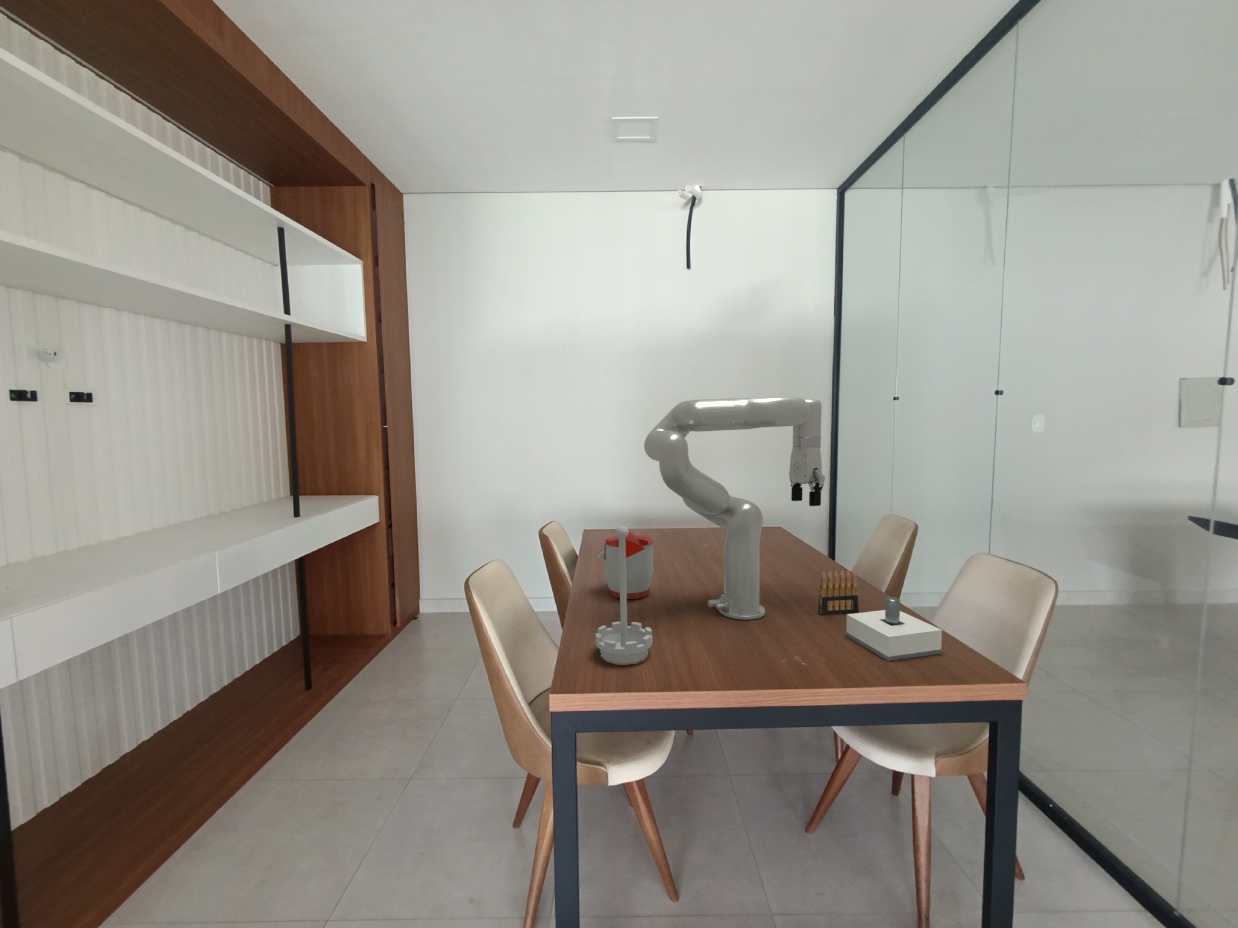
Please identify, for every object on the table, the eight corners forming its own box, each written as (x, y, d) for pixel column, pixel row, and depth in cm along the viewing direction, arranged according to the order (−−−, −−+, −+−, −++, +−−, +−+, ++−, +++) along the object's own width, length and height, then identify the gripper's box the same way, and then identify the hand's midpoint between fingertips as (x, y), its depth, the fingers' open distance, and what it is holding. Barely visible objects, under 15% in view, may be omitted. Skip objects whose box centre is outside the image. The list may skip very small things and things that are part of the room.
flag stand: (591, 666, 115) (588, 531, 112) (601, 641, 127) (598, 520, 125) (650, 669, 113) (648, 532, 110) (654, 643, 126) (652, 521, 123)
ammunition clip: (854, 610, 145) (855, 568, 144) (858, 613, 143) (859, 570, 142) (818, 612, 144) (818, 570, 143) (821, 615, 142) (821, 572, 141)
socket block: (888, 661, 114) (888, 636, 114) (846, 636, 128) (846, 614, 128) (941, 653, 118) (941, 629, 117) (894, 629, 131) (895, 608, 131)
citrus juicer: (600, 586, 171) (599, 526, 169) (653, 586, 170) (653, 525, 168) (596, 602, 155) (595, 536, 153) (655, 602, 154) (654, 536, 153)
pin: (891, 643, 121) (892, 601, 120) (881, 638, 124) (882, 597, 123) (901, 641, 122) (903, 600, 121) (892, 636, 125) (893, 596, 124)
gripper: (779, 442, 155) (778, 499, 157) (810, 444, 138) (809, 508, 140) (802, 442, 157) (801, 498, 158) (836, 444, 140) (835, 507, 141)
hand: (805, 503), depth 149 cm, fingers open, 9 cm apart
